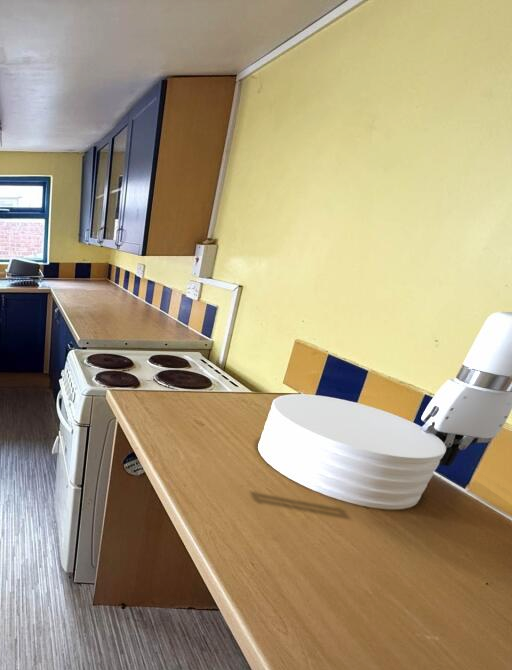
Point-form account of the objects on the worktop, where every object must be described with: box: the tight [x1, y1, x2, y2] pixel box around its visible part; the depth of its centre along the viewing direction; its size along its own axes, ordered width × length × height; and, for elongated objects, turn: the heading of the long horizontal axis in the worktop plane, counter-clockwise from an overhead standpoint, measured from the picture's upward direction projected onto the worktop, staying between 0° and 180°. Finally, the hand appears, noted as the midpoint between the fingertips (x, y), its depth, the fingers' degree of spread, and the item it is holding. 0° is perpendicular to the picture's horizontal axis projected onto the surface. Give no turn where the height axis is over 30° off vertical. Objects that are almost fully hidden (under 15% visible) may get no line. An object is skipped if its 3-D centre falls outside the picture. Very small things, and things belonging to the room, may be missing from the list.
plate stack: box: [257, 393, 446, 510], centre depth 86 cm, size 28×28×12 cm
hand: (439, 461), depth 82 cm, fingers closed
